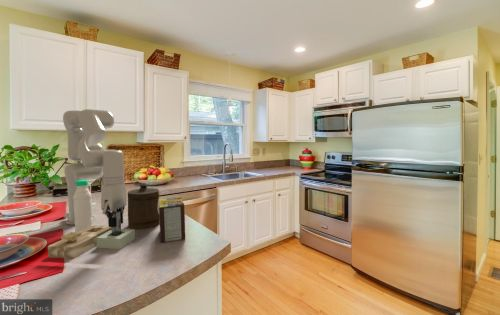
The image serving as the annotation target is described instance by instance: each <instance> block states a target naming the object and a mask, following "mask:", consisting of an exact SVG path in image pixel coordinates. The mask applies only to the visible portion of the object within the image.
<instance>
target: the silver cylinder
mask: <svg viewBox="0 0 500 315" xmlns="http://www.w3.org/2000/svg"><path fill="white" fill-rule="evenodd" d="M110 212H111V213H112V211H110ZM115 217H116V219H117V227H111V232H112V236H119V235H121V229H122V224H121V215H120V211H116V210H115Z"/></svg>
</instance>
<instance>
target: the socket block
mask: <svg viewBox="0 0 500 315" xmlns="http://www.w3.org/2000/svg"><path fill="white" fill-rule="evenodd" d="M110 230H111V227H109V225H93V226H91V227H89V228H86V229H84V230H82V231H80V232H78V233H81V236H79V237H77V238H76V241H75V242H73V243H67V239H61V240H58V241H56V242H54V243H52V244H49V245H48V246H47V255H48V258H60V259H75V258H76V257H78V256H80V255H82V254H84V253H85V252H87V251H89V250H91V249H92V248H94V247H95V246H96V247H97V240H96V238H97V237H99V236H101V235H103V234H104V233H106V232H108V231H110Z"/></svg>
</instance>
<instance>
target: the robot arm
mask: <svg viewBox="0 0 500 315" xmlns="http://www.w3.org/2000/svg"><path fill="white" fill-rule="evenodd" d="M62 115H63V116H62V122H63V125H64V128H65V131H66V133H67V156H68V158H69V160H71V161H73V163H69V164H67V165H66V166H65V167H64V176H65V181H66V186H67V199H68V212H66V213H65V214H64V215H63V218H67V219H66V220H65V224H66V225H69V226H70V225H71V226H73V225H74V226H75V216H74V199H73V196H74V194H75V191H76V190H77V187H76V181H78V180H87V181H88V180H95V179H96V180H97V179H100V178H102V179H103V180H102V182H103V185H102V187H101V192H100V193H101V194H100V209H101V211H102V212H101V213H102V214H103V215H105V216H106V218H108V220H107V221H108V222H107V223H108V225H107V226H109V227H117V219H116V217H115V211H120V215H121V225H122V224H124V212H125V211H124V210H125V208H126V207H127V206H128V197H127V189H126V188H127V187H126V184H125V182H126V180H125V163H124V160H125V159H124V152H123V151H122V150H117V149H104V147H103V146H102V144H101V142H103V141H104V140H105V139H107V138H106V137H107V136H108V135H107V134H108V133H107V130H106V129H112V128H113V126H114V125H115V119H114V118H115V117H114V115H113V113H111V112H110V111H108V110H103V109H101V110H100V109H91V108H89V109H86V108H85V109H82V110H68V111H65V112H64V113H63V114H62ZM77 161H81V162H77ZM87 188H88V190H89V191H90V186H89V185H88V186H87ZM111 212H112V213H111ZM92 218H93V221H94V220H95V216H93V215H92Z"/></svg>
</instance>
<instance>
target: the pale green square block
mask: <svg viewBox="0 0 500 315" xmlns="http://www.w3.org/2000/svg"><path fill="white" fill-rule="evenodd" d="M135 239H136V229H130V228H128V229H127V228H126V229H125V228H121V235H119V236H112V232H111V230H110V231H108V232H106V233H104V234H103V235H101V236H99V237H97V238H96V240H97V245H96V248H97V249H113V250H114V249H115V250H117V249H118V250H121V249H123V248H124V247H126V246H127V245H129V244H130V243H131V242H133V241H134V240H135Z"/></svg>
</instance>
